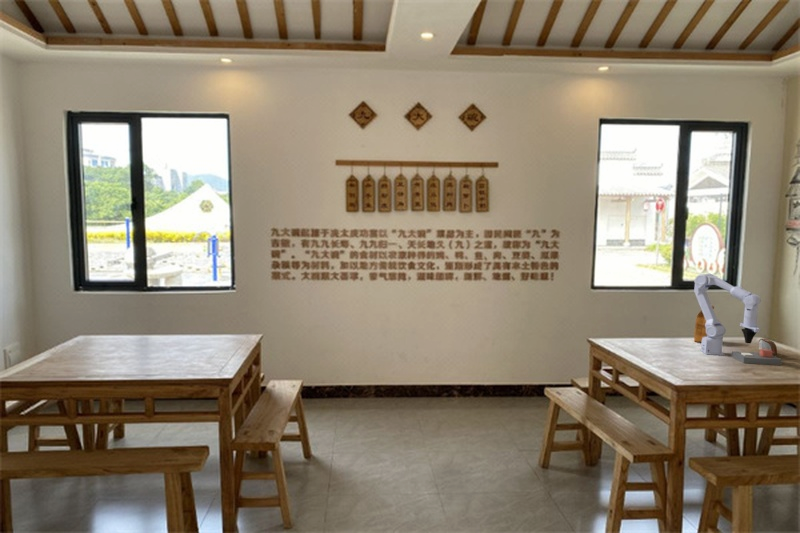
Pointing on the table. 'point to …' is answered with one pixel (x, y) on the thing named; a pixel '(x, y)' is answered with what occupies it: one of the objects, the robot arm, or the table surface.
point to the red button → (765, 352)
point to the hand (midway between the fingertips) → (748, 342)
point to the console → (756, 358)
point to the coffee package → (700, 327)
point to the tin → (768, 345)
